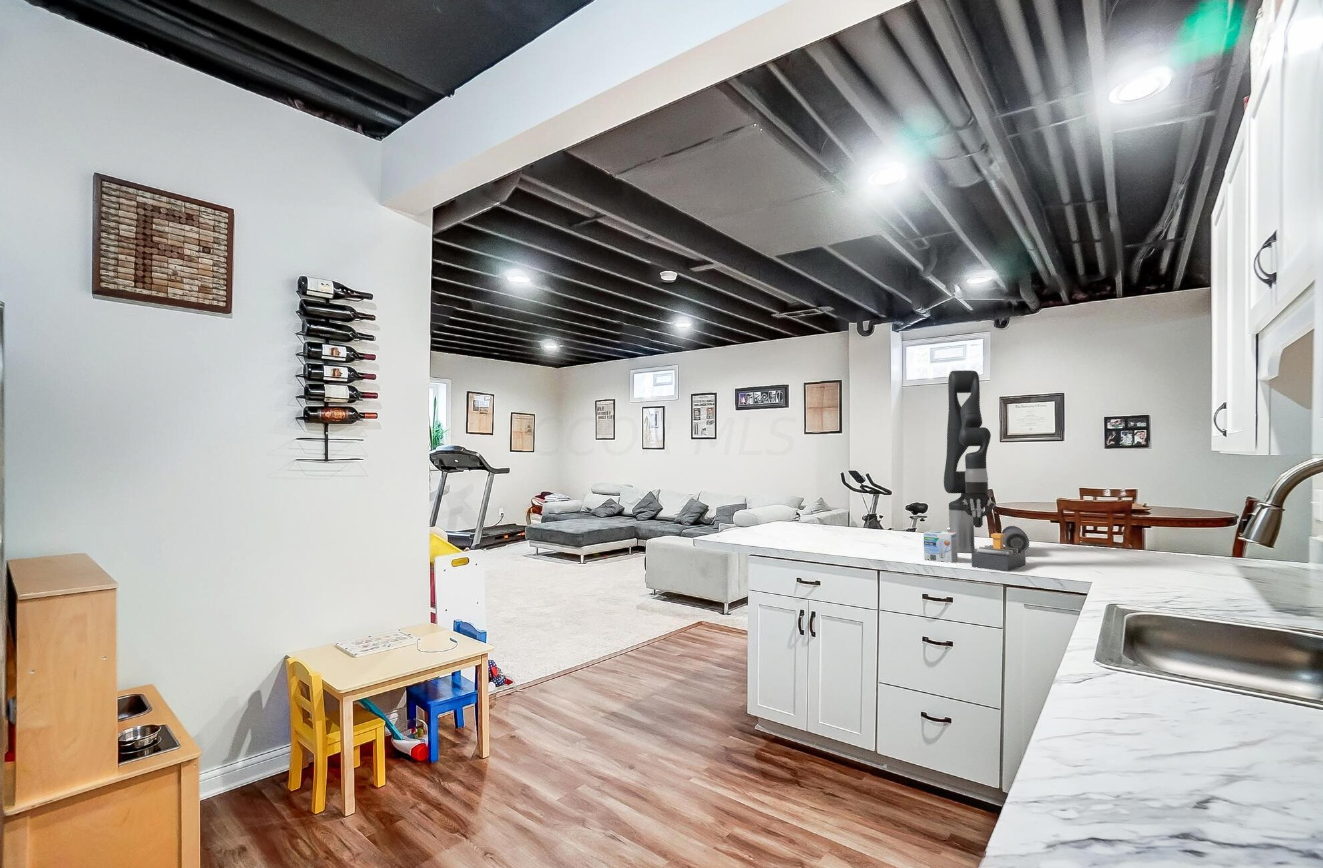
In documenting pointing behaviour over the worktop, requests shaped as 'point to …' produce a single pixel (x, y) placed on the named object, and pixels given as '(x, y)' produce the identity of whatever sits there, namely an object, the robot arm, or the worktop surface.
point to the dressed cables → (996, 551)
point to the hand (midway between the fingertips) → (978, 527)
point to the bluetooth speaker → (1015, 538)
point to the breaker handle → (998, 540)
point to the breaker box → (999, 559)
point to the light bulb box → (940, 546)
